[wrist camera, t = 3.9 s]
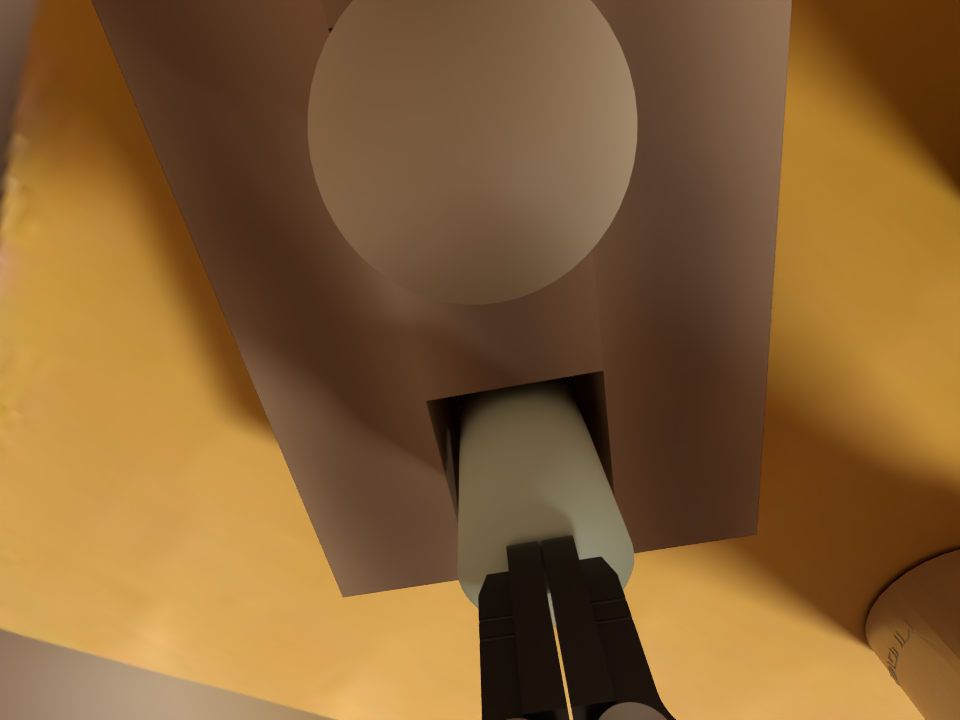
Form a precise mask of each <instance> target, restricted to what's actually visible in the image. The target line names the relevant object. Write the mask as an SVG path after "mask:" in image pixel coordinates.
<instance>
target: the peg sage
mask: <svg viewBox="0 0 960 720" xmlns="http://www.w3.org/2000/svg"><path fill="white" fill-rule="evenodd" d="M571 535H573V538H574V541H575V545H576V549H577V553H578V557H579V560H581V559H588V558H594V557H600V556H602V558H603V559H604V560H605V561H606V562H607V563H608V564H609V565H610V566H611V568H612V569H613V570H614V571H615V572H616V573H617V574H618V577H619V580H620V583H621V586H622V589H624V587H625V586H626V584H627V582H628V580H629V578H630V576H631V573H632V570H633V565H634V550H633V545H632V542H631V539H630V536H629V534H628V531H627V529H626V526H625V524H624V521H623V518H622V516H621V513H620V511H619V508H618V506H617V503H616V501H615V498H614V495H613V493H612V490H611V488H610V485H609V483H608V480H607V477H606V475H605V472H604V470H603V467H602V465H601V462H600V460H599V457H598V454H597V452H596V449H595V447H594V444H593V442H592V439H591V437H590V434H589V431H588V429H587V426H586V424H585V421H584V419H583V416H582V413H581V411H580V408H579V406H578V403H577V401H576V398H575V396H574V393H573V390H572V388H571V386H570V385H569V383H568V382H567V380H566V379H565V378H564V377H563V378H557V379H551V380H546V381H540V382H534V383H528V384H522V385H516V386H511V387H505V388H499V389H493V390H487V391H481V392H476V393H470V394H464V395H463V398H462V401H461V408H460V456H459V510H458V577H459V582H460V584H461V587H462V589H463V591H464V593H465V594H466V596H467V597H468V598H469V600H470V601H471V602H472V603H473V604H474V605H475V606H476V607H477V608H478V609H479V606H478V595H479V593H480V590H481V588H482V585H483V583H484V580H485V578H486V575H487V574H493V573H500V572H506V571H509V570H508V560H507V549H506V546H509V545H515V544H521V543H528V542H534V541H538V545H539V551H540V556H541V562H542V568H543V573H544V579H545V584H546V590H547V596H548V601H549V607H550V612H551V618H552V624H553V627H554V626H556V622H555V617H554V611H553V606H552V600H551V594H550V589H549V583H548V577H547V572H546V566H545V560H544V555H543V549H542V543H541V540H545V539H552V538H558V537H564V536H571Z"/></svg>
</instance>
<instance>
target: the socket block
mask: <svg viewBox="0 0 960 720" xmlns="http://www.w3.org/2000/svg"><path fill="white" fill-rule="evenodd" d="M352 1H353V0H92V3H93V5H94V7H95V10H96V12H97V14H98V17H99V19H100V22H101V24H102V26H103V29H104V31H105V33H106V36H107V38H108V41H109V43H110V45H111V48H112V50H113V52H114V55H115V57H116V60H117V62H118V64H119V67H120V69H121V71H122V74H123V76H124V79H125V81H126V83H127V86H128V88H129V90H130V93H131V95H132V98H133V100H134V102H135V105H136V107H137V109H138V112H139V114H140V117H141V119H142V121H143V124H144V126H145V128H146V131H147V133H148V136H149V138H150V140H151V143H152V145H153V147H154V150H155V152H156V155H157V157H158V159H159V162H160V164H161V166H162V169H163V171H164V174H165V176H166V178H167V181H168V183H169V185H170V188H171V190H172V192H173V195H174V197H175V200H176V202H177V204H178V207H179V209H180V211H181V214H182V216H183V219H184V221H185V223H186V226H187V228H188V230H189V233H190V235H191V238H192V240H193V242H194V245H195V247H196V249H197V252H198V254H199V257H200V259H201V261H202V264H203V266H204V268H205V271H206V273H207V276H208V278H209V280H210V283H211V285H212V287H213V290H214V292H215V295H216V297H217V299H218V302H219V304H220V306H221V309H222V311H223V314H224V316H225V318H226V321H227V323H228V325H229V328H230V330H231V333H232V335H233V337H234V340H235V342H236V344H237V347H238V349H239V352H240V354H241V356H242V359H243V361H244V363H245V366H246V368H247V371H248V373H249V375H250V378H251V380H252V382H253V385H254V387H255V390H256V392H257V394H258V397H259V399H260V401H261V404H262V406H263V409H264V411H265V413H266V416H267V418H268V420H269V423H270V425H271V428H272V430H273V432H274V435H275V437H276V439H277V442H278V444H279V446H280V449H281V451H282V454H283V456H284V458H285V461H286V463H287V465H288V468H289V470H290V473H291V475H292V477H293V480H294V482H295V484H296V487H297V489H298V492H299V494H300V496H301V499H302V501H303V503H304V506H305V508H306V511H307V513H308V515H309V518H310V520H311V522H312V525H313V527H314V530H315V532H316V534H317V537H318V539H319V541H320V544H321V546H322V549H323V551H324V553H325V556H326V558H327V560H328V563H329V565H330V568H331V570H332V572H333V575H334V577H335V579H336V582H337V584H338V587H339V589H340V591H341V594H342V596H343V597H349V596H355V595H362V594H369V593H375V592H382V591H388V590H395V589H402V588H408V587H415V586H421V585H428V584H434V583H441V582H448V581H454V580H459V577H458V510H459V456H460V421H459V417H458V412H457V408H456V404H455V400H454V396H458V395H464V394H470V393H476V392H481V391H487V390H493V389H499V388H505V387H511V386H516V385H522V384H528V383H534V382H540V381H546V380H551V379H557V378H563V377H569V376H574V380H575V388H576V397H577V403H578V406H579V408H580V411H581V413H582V416H583V419H584V421H585V424H586V426H587V429H588V431H589V434H590V437H591V439H592V442H593V444H594V447H595V449H596V452H597V454H598V457H599V460H600V462H601V465H602V467H603V470H604V472H605V475H606V477H607V480H608V483H609V485H610V488H611V490H612V493H613V495H614V498H615V501H616V503H617V506H618V508H619V511H620V513H621V516H622V518H623V521H624V524H625V526H626V529H627V531H628V534H629V536H630V539H631V542H632V545H633V550H634V553H639V552H645V551H652V550H658V549H665V548H672V547H678V546H685V545H691V544H698V543H705V542H711V541H718V540H724V539H731V538H738V537H744V536H751V535H757V520H758V505H759V490H760V475H761V460H762V445H763V430H764V415H765V400H766V384H767V369H768V354H769V339H770V324H771V309H772V294H773V279H774V264H775V249H776V234H777V219H778V204H779V189H780V174H781V159H782V144H783V129H784V114H785V99H786V84H787V69H788V54H789V39H790V24H791V9H792V0H591V1H592V2H593V3H594V4H595V6H596V7H597V8H598V10H599V11H600V13H601V14H602V15H603V17H604V18H605V20H606V21H607V22H608V24H609V25H610V27H611V29H612V31H613V33H614V35H615V37H616V38H617V40H618V42H619V44H620V46H621V48H622V51H623V54H624V56H625V59H626V62H627V64H628V67H629V70H630V74H631V79H632V83H633V87H634V91H635V99H636V108H637V145H636V152H635V160H634V165H633V169H632V173H631V177H630V181H629V185H628V187H627V190H626V193H625V195H624V198H623V200H622V203H621V206H620V207H619V209H618V211H617V213H616V215H615V217H614V219H613V221H612V223H611V224H610V226H609V227H608V229H607V230H606V232H605V233H604V235H603V236H602V238H601V239H600V240H599V242H598V243H597V244H596V245H595V246H594V248H593V249H592V250H591V251H590V252H589V253H588V254H587V255H586V257H585V258H584V259H582V260H581V261H580V262H579V263H578V264H577V265H576V266H575V267H573V268H572V269H571V270H570V271H569V272H567V273H566V274H564V275H563V276H562V277H560V278H559V279H557V280H556V281H554V282H553V283H551V284H549V285H547V286H545V287H543V288H541V289H540V290H538V291H535V292H533V293H530V294H528V295H525V296H522V297H520V298H516V299H512V300H508V301H504V302H499V303H491V304H482V305H470V304H456V303H448V302H442V301H438V300H435V299H431V298H427V297H424V296H421V295H419V294H416V293H414V292H411V291H409V290H407V289H405V288H403V287H401V286H399V285H398V284H396V283H394V282H392V281H390V280H389V279H387V278H386V277H385V276H383V275H382V274H381V273H379V272H378V271H376V270H375V269H374V268H373V267H372V266H370V265H369V264H368V263H367V262H366V261H365V260H364V259H363V258H362V257H361V256H360V255H359V254H358V253H357V252H356V251H355V250H354V249H353V247H352V246H351V245H350V244H349V243H348V242H347V240H346V239H345V238H344V236H343V235H342V233H341V232H340V230H339V229H338V227H337V226H336V224H335V223H334V221H333V219H332V217H331V215H330V214H329V212H328V210H327V208H326V206H325V204H324V202H323V199H322V196H321V194H320V191H319V188H318V186H317V183H316V180H315V176H314V171H313V167H312V163H311V159H310V151H309V142H308V105H309V98H310V90H311V84H312V81H313V77H314V73H315V69H316V65H317V62H318V60H319V57H320V55H321V52H322V50H323V47H324V45H325V42H326V40H327V38H328V36H329V35H330V33H331V31H332V30H333V28H334V26H335V24H336V23H337V21H338V19H339V18H340V16H341V15H342V14H343V12H344V11H345V10H346V9H347V7H348V6H349V5H350V3H351V2H352Z"/></svg>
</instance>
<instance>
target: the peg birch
mask: <svg viewBox="0 0 960 720" xmlns="http://www.w3.org/2000/svg"><path fill="white" fill-rule="evenodd" d="M308 142H309V151H310V159H311V163H312V167H313V171H314V176H315V180H316V183H317V186H318V188H319V191H320V194H321V196H322V199H323V202H324V204H325V206H326V208H327V210H328V212H329V214H330V215H331V217H332V219H333V221H334V223H335V224H336V226H337V227H338V229H339V230H340V232H341V233H342V235H343V236H344V238H345V239H346V240H347V242H348V243H349V244H350V245H351V246H352V247H353V249H354V250H355V251H356V252H357V253H358V254H359V255H360V256H361V257H362V258H363V259H364V260H365V261H366V262H367V263H368V264H369V265H370V266H372V267H373V268H374V269H375V270H376V271H378V272H379V273H381V274H382V275H383V276H385V277H386V278H387V279H389V280H390V281H392V282H394V283H396V284H398V285H399V286H401V287H403V288H405V289H407V290H409V291H411V292H414V293H416V294H419V295H421V296H424V297H427V298H431V299H435V300H438V301H442V302H448V303H456V304H470V305H482V304H491V303H499V302H504V301H508V300H512V299H516V298H520V297H522V296H525V295H528V294H530V293H533V292H535V291H538V290H540V289H541V288H543V287H545V286H547V285H549V284H551V283H553V282H554V281H556V280H557V279H559V278H560V277H562V276H563V275H564V274H566V273H567V272H569V271H570V270H571V269H572V268H573V267H575V266H576V265H577V264H578V263H579V262H580V261H581V260H582V259H584V258H585V257H586V255H587V254H588V253H589V252H590V251H591V250H592V249H593V248H594V246H595V245H596V244H597V243H598V242H599V240H600V239H601V238H602V236H603V235H604V233H605V232H606V230H607V229H608V227H609V226H610V224H611V223H612V221H613V219H614V217H615V215H616V213H617V211H618V209H619V207H620V206H621V203H622V200H623V198H624V195H625V193H626V190H627V187H628V185H629V181H630V177H631V173H632V169H633V165H634V160H635V152H636V145H637V108H636V99H635V91H634V87H633V83H632V79H631V74H630V70H629V67H628V64H627V62H626V59H625V56H624V54H623V51H622V48H621V46H620V44H619V42H618V40H617V38H616V37H615V35H614V33H613V31H612V29H611V27H610V25H609V24H608V22H607V21H606V20H605V18H604V17H603V15H602V14H601V13H600V11H599V10H598V8H597V7H596V6H595V4H594V3H593V2H592V1H591V0H353V1H352V2H351V3H350V5H349V6H348V7H347V9H346V10H345V11H344V12H343V14H342V15H341V16H340V18H339V19H338V21H337V23H336V24H335V26H334V28H333V30H332V31H331V33H330V35H329V36H328V38H327V40H326V42H325V45H324V47H323V50H322V52H321V55H320V57H319V60H318V62H317V65H316V69H315V73H314V77H313V81H312V84H311V90H310V98H309V105H308Z"/></svg>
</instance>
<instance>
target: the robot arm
mask: <svg viewBox="0 0 960 720" xmlns="http://www.w3.org/2000/svg"><path fill="white" fill-rule="evenodd" d="M541 543H542V549H543V555H544V560H545V566H546V572H547V577H548V583H549V589H550V594H551V600H552V606H553V611H554V617H555V622H556V628H557V633H558V638H559V644H560V649H561V655H562V660H563V666H564V671H565V677H566V682H567V688H568V693H569V698H570V704H571V709H572V715H573V720H676V719H675V718H674V717H673V716H672V715H671V714H670V713H669V712H668V710H667V709H666V708H665V706H664V705H663V703H662V701H661V699H660V697H659V695H658V692H657V690H656V687H655V684H654V681H653V678H652V675H651V672H650V669H649V666H648V663H647V660H646V657H645V654H644V651H643V648H642V645H641V642H640V639H639V636H638V633H637V630H636V628H635V625H634V622H633V620H632V616H631V613H630V610H629V607H628V604H627V601H626V599H625V595H624V592H623V589H622V586H621V583H620V580H619V577H618V574H617V573H616V572H615V571H614V570H613V569H612V568H611V566H610V565H609V564H608V563H607V562H606V561H605V560H604V559H603V558H602V556H600V557H594V558H588V559H581V560H579V557H578V553H577V549H576V545H575V541H574V538H573V535H571V536H564V537H558V538H552V539H545V540H541ZM506 549H507V560H508V570H509V571H506V572H500V573H493V574H487V575H486V578H485V580H484V583H483V585H482V588H481V590H480V593H479V595H478V606H479V637H480V667H481V698H482V720H569V714H568V709H567V703H566V697H565V692H564V686H563V680H562V675H561V669H560V663H559V658H558V652H557V646H556V641H555V635H554V629H553V624H552V618H551V612H550V607H549V601H548V596H547V590H546V584H545V579H544V573H543V568H542V562H541V556H540V551H539V545H538V541H534V542H528V543H521V544H515V545H509V546H506ZM865 635H866V638H867V641H868V644H869V646H870V647H871V648H872V650H873V651H874V652H875V653H876V655H877V656H878V657H879V659H880V660H881V661H882V663H883V664H884V665H885V667H886V668H887V670H888V671H889V673H890V675H891V676H892V678H893V679H894V680H895V682H896V683H897V684H898V685H900V687H901V688H902V689H903V691H904V692H905V693H906V695H907V696H908V697H909V698H910V700H911V701H912V702H913V704H914V705H915V706H916V708H917V709H918V710H919V712H920V713H921V714H922V716H923V717H924V718H925V720H960V550H957V551H953V552H949V553H946V554H943V555H941V556H938V557H936V558H934V559H931V560H929V561H926V562H924V563H922V564H921V565H919V566H917V567H915V568H914V569H912V570H910V571H908V572H907V573H905V574H904V575H903V576H901V577H900V578H899V579H898V580H896V581H895V582H894V583H892V584H891V585H890V586H889V587H888V588H887V589H886V590H885V591H884V592H883V593H882V594H881V595H880V597H879V598H878V599H877V601H876V602H875V604H874V605H873V607H872V608H871V610H870V613H869V615H868V618H867V621H866V631H865Z"/></svg>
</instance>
